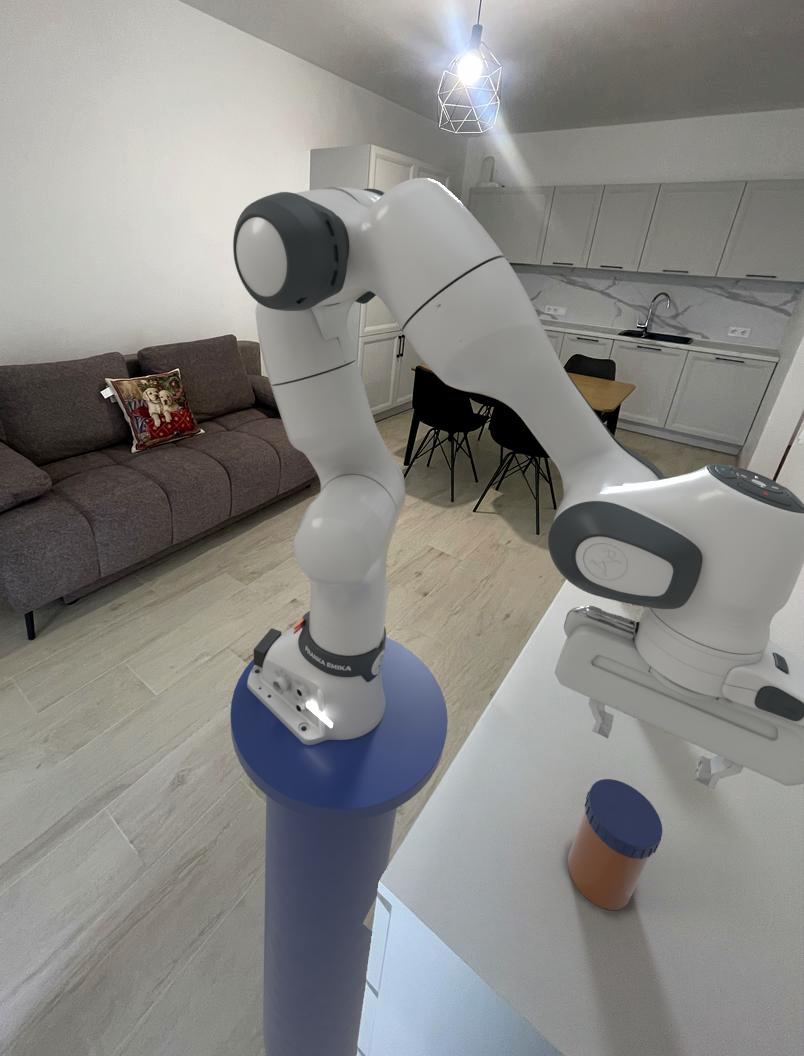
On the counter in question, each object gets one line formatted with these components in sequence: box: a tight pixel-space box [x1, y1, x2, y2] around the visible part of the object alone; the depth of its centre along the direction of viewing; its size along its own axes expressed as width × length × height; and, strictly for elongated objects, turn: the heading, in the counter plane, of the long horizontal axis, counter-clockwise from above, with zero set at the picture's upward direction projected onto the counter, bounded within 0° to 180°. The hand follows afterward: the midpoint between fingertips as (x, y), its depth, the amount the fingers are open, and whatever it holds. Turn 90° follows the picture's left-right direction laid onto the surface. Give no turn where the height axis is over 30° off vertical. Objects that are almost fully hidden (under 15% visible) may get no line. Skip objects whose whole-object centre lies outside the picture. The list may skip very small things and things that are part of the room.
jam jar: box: [567, 810, 650, 911], centre depth 54 cm, size 7×7×10 cm
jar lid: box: [584, 778, 663, 859], centre depth 53 cm, size 7×7×2 cm
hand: (649, 753), depth 49 cm, fingers open, 8 cm apart
